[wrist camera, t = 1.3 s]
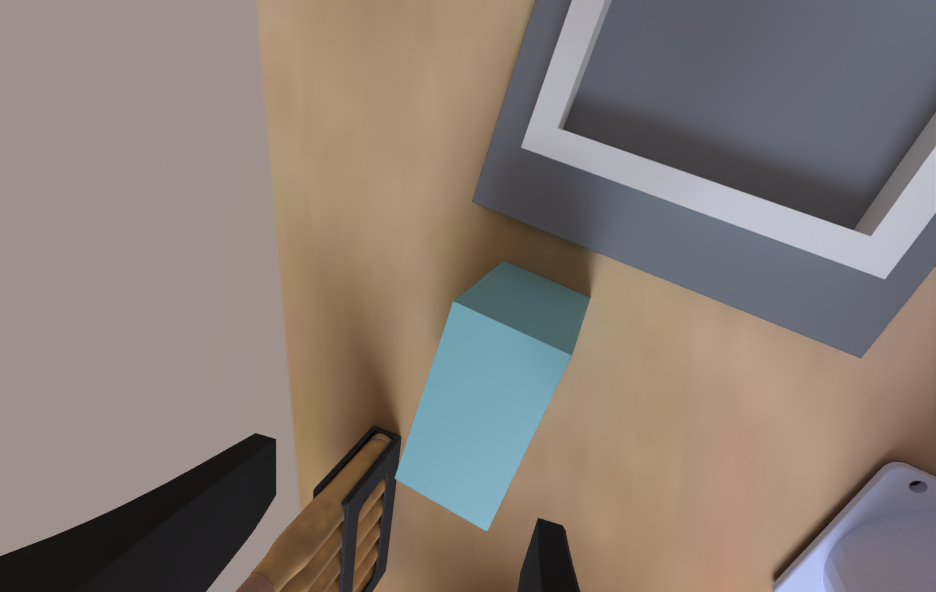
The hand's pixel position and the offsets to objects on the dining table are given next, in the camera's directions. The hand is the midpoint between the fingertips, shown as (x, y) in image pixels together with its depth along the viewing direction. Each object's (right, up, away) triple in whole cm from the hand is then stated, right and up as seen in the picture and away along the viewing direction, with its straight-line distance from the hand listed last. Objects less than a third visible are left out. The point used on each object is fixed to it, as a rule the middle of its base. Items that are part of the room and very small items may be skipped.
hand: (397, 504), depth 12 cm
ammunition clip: (-3, -7, +15) cm, 17 cm away
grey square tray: (+11, +13, +3) cm, 17 cm away
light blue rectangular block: (+4, +3, +9) cm, 10 cm away
